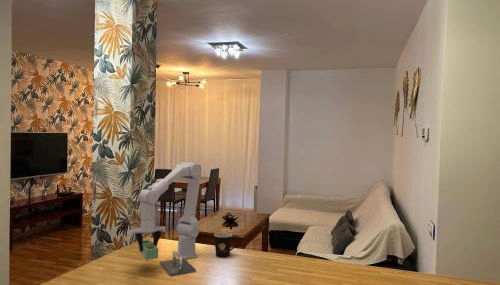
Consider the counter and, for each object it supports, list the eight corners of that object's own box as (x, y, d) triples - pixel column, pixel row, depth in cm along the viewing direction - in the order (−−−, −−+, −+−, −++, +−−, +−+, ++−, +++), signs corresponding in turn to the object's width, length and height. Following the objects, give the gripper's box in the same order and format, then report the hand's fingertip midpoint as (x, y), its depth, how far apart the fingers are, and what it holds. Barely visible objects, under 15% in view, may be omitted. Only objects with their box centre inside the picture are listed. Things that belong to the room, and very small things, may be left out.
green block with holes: (138, 249, 171) (138, 240, 171) (149, 248, 173) (149, 239, 173) (145, 259, 159) (145, 250, 159) (158, 258, 161) (158, 248, 161)
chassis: (159, 263, 174) (159, 251, 174) (183, 260, 179) (183, 248, 179) (170, 276, 160) (170, 262, 159) (195, 271, 165) (196, 258, 165)
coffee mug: (210, 256, 184) (210, 235, 184) (219, 251, 192) (220, 231, 192) (231, 261, 179) (231, 239, 178) (240, 255, 187) (241, 234, 186)
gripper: (132, 222, 158) (132, 255, 159) (167, 218, 165) (167, 250, 166) (128, 218, 165) (128, 250, 165) (163, 215, 171) (162, 245, 172)
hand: (147, 250), depth 166 cm, fingers closed on green block with holes, 5 cm apart
